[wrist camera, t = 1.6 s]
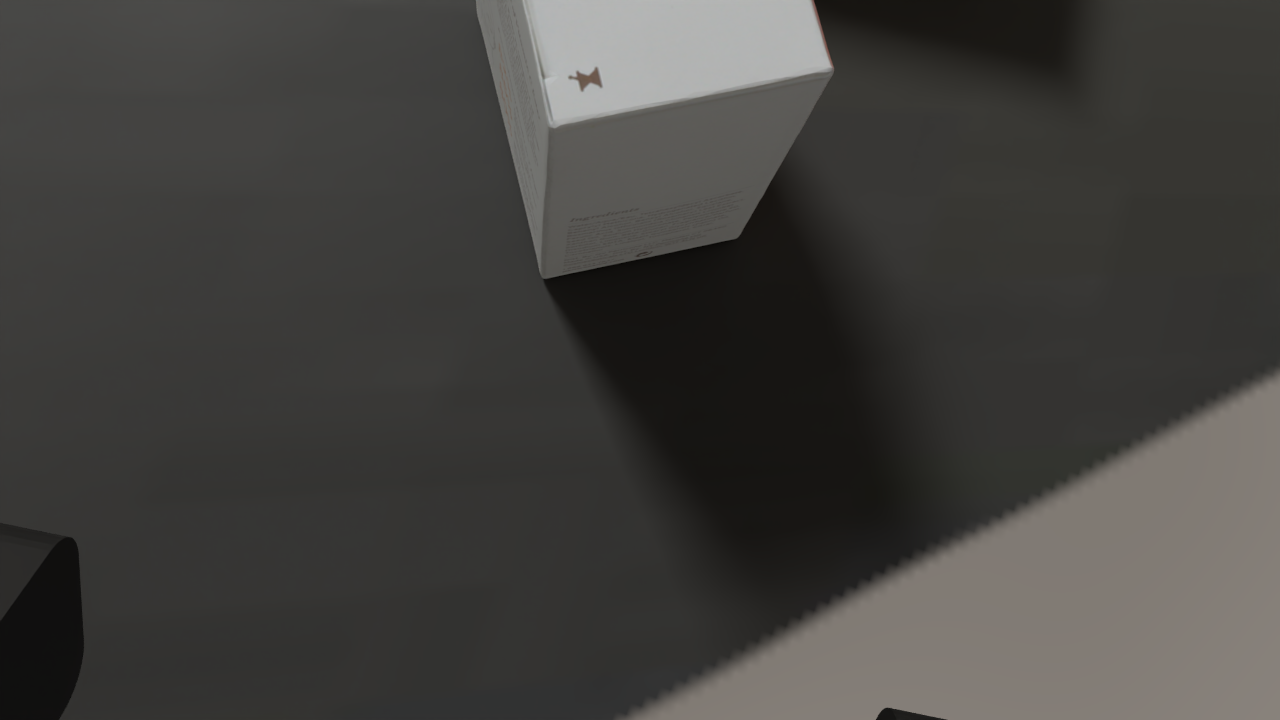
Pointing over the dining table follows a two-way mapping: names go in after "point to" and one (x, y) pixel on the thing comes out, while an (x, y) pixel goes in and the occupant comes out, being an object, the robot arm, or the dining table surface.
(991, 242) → the dining table surface
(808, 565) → the dining table surface
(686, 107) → the small box
